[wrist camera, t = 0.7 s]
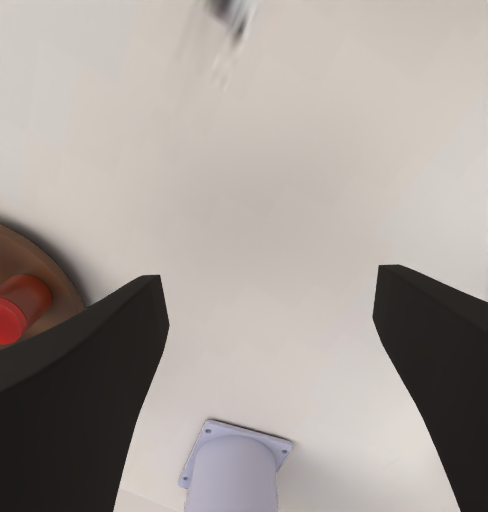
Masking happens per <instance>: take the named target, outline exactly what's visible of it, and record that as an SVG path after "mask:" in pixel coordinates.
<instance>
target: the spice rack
mask: <svg viewBox="0 0 488 512" xmlns="http://www.w3.org/2000/svg"><path fill="white" fill-rule="evenodd" d="M83 310H85V309H84V307H83V304H82V301H81V299H80V297H79V295H78V293H77V291H76V289H75V287H74V286H73V284H72V283H71V281H70V280H69V279H68V277H67V276H66V274H65V273H64V272H63V271H62V270H61V269H60V267H59V266H58V265H57V264H56V263H55V262H54V261H53V260H52V259H51V258H50V257H49V256H48V255H47V254H46V253H45V252H44V251H42V250H41V249H40V248H38V247H37V246H36V245H34V244H33V243H32V242H31V241H29V240H27V239H26V238H24V237H23V236H21V235H20V234H18V233H16V232H15V231H13V230H11V229H9V228H7V227H5V226H3V225H1V224H0V350H1V349H4V348H6V347H9V346H11V345H14V344H16V343H19V342H21V341H24V340H26V339H28V338H31V337H33V336H35V335H37V334H39V333H41V332H44V331H46V330H48V329H50V328H52V327H54V326H56V325H58V324H60V323H62V322H64V321H66V320H67V319H69V318H71V317H73V316H74V315H76V314H78V313H80V312H81V311H83Z"/></svg>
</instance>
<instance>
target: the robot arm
mask: <svg viewBox="0 0 488 512" xmlns="http://www.w3.org/2000/svg"><path fill="white" fill-rule="evenodd" d="M373 321H374V324H375V327H376V329H377V332H378V335H379V337H380V340H381V342H382V344H383V346H384V348H385V350H386V352H387V354H388V356H389V357H390V359H391V361H392V363H393V365H394V366H395V368H396V370H397V372H398V374H399V375H400V377H401V379H402V381H403V382H404V384H405V386H406V388H407V390H408V391H409V393H410V395H411V397H412V399H413V400H414V402H415V404H416V406H417V408H418V410H419V412H420V414H421V416H422V418H423V420H424V422H425V424H426V427H427V429H428V431H429V434H430V436H431V438H432V441H433V443H434V445H435V448H436V450H437V452H438V455H439V457H440V460H441V462H442V465H443V467H444V470H445V472H446V475H447V477H448V480H449V482H450V485H451V487H452V490H453V492H454V495H455V497H456V500H457V503H458V506H459V508H460V511H461V512H488V302H486V301H483V300H481V299H478V298H476V297H473V296H471V295H468V294H466V293H464V292H461V291H459V290H457V289H455V288H452V287H450V286H448V285H446V284H443V283H441V282H439V281H437V280H435V279H432V278H430V277H428V276H426V275H424V274H421V273H419V272H417V271H415V270H412V269H410V268H407V267H405V266H402V265H379V268H378V277H377V285H376V293H375V301H374V309H373ZM169 326H170V325H169V319H168V314H167V309H166V304H165V298H164V293H163V288H162V282H161V277H160V275H142V276H140V277H138V278H136V279H134V280H132V281H131V282H129V283H127V284H126V285H124V286H122V287H121V288H119V289H118V290H116V291H115V292H113V293H111V294H110V295H108V296H107V297H105V298H103V299H102V300H100V301H99V302H97V303H95V304H94V305H92V306H90V307H88V308H87V309H85V310H83V311H81V312H80V313H78V314H76V315H74V316H73V317H71V318H69V319H67V320H66V321H64V322H62V323H60V324H58V325H56V326H54V327H52V328H50V329H48V330H46V331H44V332H41V333H39V334H37V335H35V336H33V337H31V338H28V339H26V340H24V341H21V342H19V343H16V344H14V345H11V346H9V347H6V348H4V349H1V350H0V512H113V510H114V505H115V500H116V497H117V492H118V488H119V484H120V481H121V477H122V473H123V469H124V465H125V461H126V457H127V453H128V450H129V446H130V443H131V439H132V435H133V432H134V428H135V425H136V422H137V419H138V416H139V413H140V410H141V408H142V405H143V403H144V400H145V397H146V395H147V392H148V390H149V387H150V385H151V382H152V380H153V377H154V375H155V372H156V370H157V367H158V364H159V362H160V359H161V357H162V354H163V351H164V347H165V343H166V339H167V335H168V330H169ZM291 450H292V443H291V442H290V441H287V440H284V439H280V438H276V437H273V436H269V435H265V434H262V433H258V432H254V431H251V430H247V429H244V428H240V427H236V426H233V425H229V424H225V423H222V422H218V421H214V420H207V421H206V422H205V423H204V425H203V428H202V430H201V432H200V434H199V436H198V439H197V441H196V443H195V445H194V447H193V450H192V452H191V454H190V456H189V459H188V461H187V463H186V465H185V467H184V470H183V472H182V474H181V476H180V478H179V481H178V485H179V486H180V487H182V488H186V489H188V490H187V495H186V501H185V507H184V512H279V511H278V495H277V479H276V473H277V471H278V470H279V468H280V467H281V465H282V463H283V462H284V460H285V459H286V457H287V456H288V454H289V453H290V451H291Z"/></svg>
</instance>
